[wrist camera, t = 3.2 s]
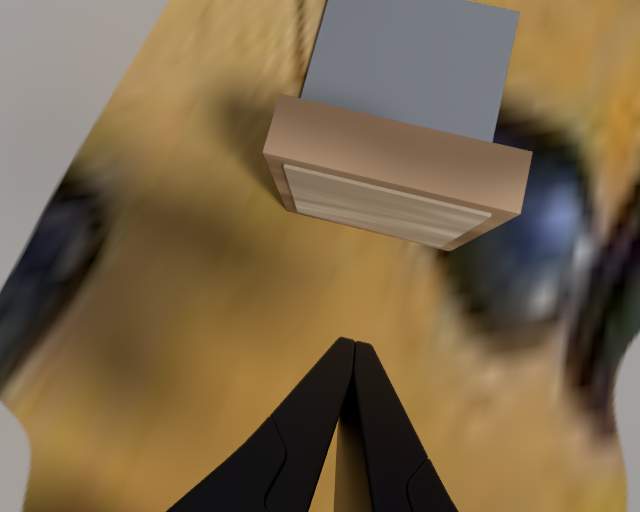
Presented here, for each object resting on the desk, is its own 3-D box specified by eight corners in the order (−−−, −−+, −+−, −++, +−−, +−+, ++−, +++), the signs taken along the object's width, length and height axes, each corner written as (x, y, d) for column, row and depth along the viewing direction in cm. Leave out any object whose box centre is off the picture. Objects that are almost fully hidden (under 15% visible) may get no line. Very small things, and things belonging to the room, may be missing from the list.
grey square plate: (476, 207, 24) (478, 205, 24) (283, 160, 25) (283, 159, 25) (517, 15, 26) (519, 11, 26) (335, -23, 27) (335, -27, 26)
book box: (449, 253, 24) (519, 217, 15) (286, 213, 25) (261, 156, 16) (458, 211, 24) (532, 151, 15) (297, 172, 25) (279, 93, 16)
